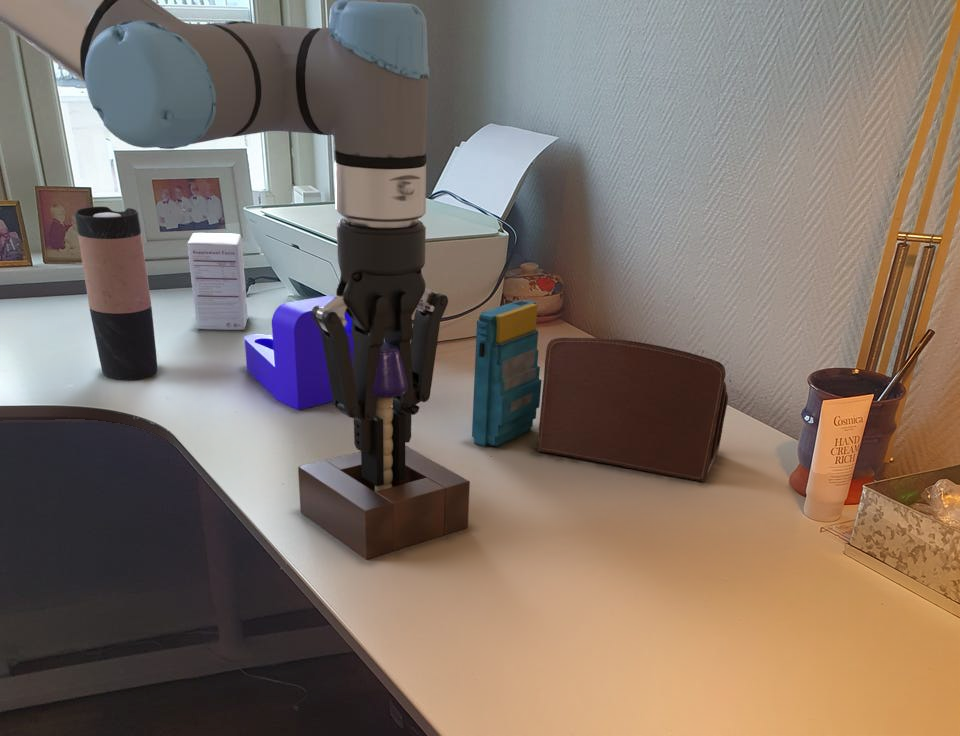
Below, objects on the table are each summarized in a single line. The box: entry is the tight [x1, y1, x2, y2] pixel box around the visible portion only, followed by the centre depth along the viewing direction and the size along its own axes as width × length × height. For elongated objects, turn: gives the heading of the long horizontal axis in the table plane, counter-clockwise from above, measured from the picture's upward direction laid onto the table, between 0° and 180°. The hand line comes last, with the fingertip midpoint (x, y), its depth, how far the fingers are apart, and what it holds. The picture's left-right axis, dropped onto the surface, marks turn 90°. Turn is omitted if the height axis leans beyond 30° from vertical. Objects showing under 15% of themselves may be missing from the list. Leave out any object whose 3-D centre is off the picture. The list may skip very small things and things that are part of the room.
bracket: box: [243, 295, 354, 411], centre depth 128 cm, size 18×11×12 cm, turn 45°
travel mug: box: [74, 206, 159, 381], centre depth 127 cm, size 8×8×20 cm
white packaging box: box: [186, 232, 249, 331], centre depth 150 cm, size 7×7×13 cm
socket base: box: [297, 445, 471, 560], centre depth 97 cm, size 12×12×5 cm
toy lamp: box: [372, 342, 408, 492], centre depth 93 cm, size 5×5×17 cm
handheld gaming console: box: [471, 299, 542, 448], centre depth 115 cm, size 10×4×15 cm, turn 145°
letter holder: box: [536, 337, 729, 483], centre depth 112 cm, size 10×20×14 cm, turn 70°
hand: (383, 477), depth 96 cm, fingers closed on toy lamp, 2 cm apart
